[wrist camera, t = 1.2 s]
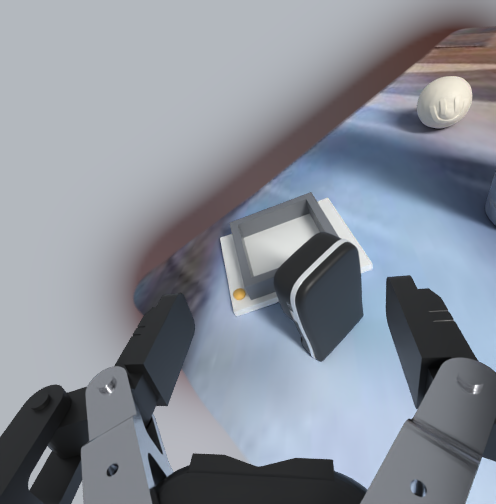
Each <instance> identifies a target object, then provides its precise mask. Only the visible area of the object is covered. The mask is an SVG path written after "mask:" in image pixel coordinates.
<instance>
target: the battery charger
mask: <svg viewBox="0 0 496 504" xmlns="http://www.w3.org/2000/svg"><path fill="white" fill-rule="evenodd" d="M273 284H274V289H275V292H276V295H277V297H278V300H279V303H280V305H281V307H282V309H283V311H284V313H285V314H286V315H287V316H288V317H289V318H290V319H292V320H293V321H294V322H295V324H296V326H297V329H298V331H299V332H300V334H301V342H302V344H303V346H304V348H305V349H306V350H307V352H309V353H310V354H311V356H312V357H313V358H314V359H317V360H318V361H320V362H321V361H323V360H324V359H325V358H326V357H327V356H328V355H329V354H330V353H331V352H332V351H333V350H334V348H335V347H336V346H337V345H338V344H339V343H340V342H341V341H342V340H343V339H344V338H345V336H346V335H347V334H348V333H349V332H350V331H351V330H352V329H353V327H354V326H355V325H356V324H357V323H358V322H359V321H360V319H361V318H362V317H363V307H362V287H361V268H360V259H359V252H358V249H357V247H356V246H355V245H353V244H352V243H351V242H350V241H348V240H346V239H341V238H339V237H337V236H335V235H333V234H330V233H327V232H320V233H317V234H315V235H314V236H313V237H311V238H310V239H309V240H308V241H307V242H306V243H304V244H303V245H302V246H301V247H300V248H299V249H298V250H297V251H295V252H294V253H293V254H292V255H291V256H290V257H289V258H288V259H287V260H286V261H285V262H284V263H283V264H282V265H281V266H280V267H279V268H278V269H277V271H276V272H275V275H274V282H273Z"/></svg>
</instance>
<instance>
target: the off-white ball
mask: <svg viewBox="0 0 496 504" xmlns="http://www.w3.org/2000/svg"><path fill="white" fill-rule="evenodd" d="M471 102H472V90H471V87H470V85H469V84H468V83H467V82H466V81H465V80H464V79H462V78H460V77H456V76H447V77H442V78H439V79H437V80H435V81H433V82H431V83H430V84H429V85H428V86H426V87H425V88H424V90H423V91H422V92H421V94H420V96H419V98H418V103H417V113H418V116H419V118H420V120H421V122H422V123H423V124H424V125H426V126H428V127H432V128H445V127H448V126H451V125H453V124H455V123H457V122H458V121H460V120H461V119H462V118H463V117H464V116H465V115H466V113H467V112H468V110H469V108H470V106H471Z"/></svg>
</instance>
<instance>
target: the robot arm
mask: <svg viewBox="0 0 496 504" xmlns="http://www.w3.org/2000/svg"><path fill="white" fill-rule="evenodd" d="M485 210H486V214H487V216H488V217H489V219H490V220H491V221H492V222H493V223H494V224H495V225H496V171H495V174H494V177H493V180H492V184H491V187H490V191H489V194H488V197H487V201H486V205H485ZM386 317H387V322H388V326H389V329H390V332H391V335H392V338H393V341H394V344H395V347H396V350H397V353H398V356H399V359H400V362H401V365H402V368H403V371H404V374H405V377H406V380H407V383H408V386H409V389H410V392H411V395H412V398H413V401H414V404H415V407H416V409H418V410H417V412H416V414H415V415H414V417H413V418H412V419H408V420H407V421H406V422H405V423H404V425H403V427H402V428H401V430H400V432H399V434H398V436H397V437H396V439H395V441H394V443H393V445H392V447H391V448H390V450H389V452H388V454H387V456H386V458H385V459H384V461H383V463H382V465H381V467H380V468H379V470H378V472H377V474H376V476H375V478H374V479H373V481H372V483H371V485H370V487H369V489H368V490H367V489H366V488H365V487H363V486H362V485H361V484H359V483H358V482H356V481H355V480H353V479H352V478H349V477H347V476H345V475H343V474H341V473H338V472H335V471H334V465H333V460H330V459H307V458H294V459H290V460H286V461H281V462H277V463H273V464H269V465H265V466H261V467H257V466H253V465H251V464H248V463H245V462H242V461H240V460H237V459H234V458H232V457H229V456H226V455H215V454H193V455H192V459H191V463H190V465H189V466H186V467H184V468H181V469H179V470H177V471H175V472H173V470H172V468H171V466H170V464H169V461H168V459H167V455H166V452H165V449H164V446H163V442H162V439H161V436H160V432H159V429H158V426H157V422H156V419H155V417H154V415H153V412H154V409H155V407H156V406H168V403H169V400H170V398H171V395H172V392H173V390H174V387H175V384H176V381H177V379H178V376H179V373H180V371H181V368H182V365H183V362H184V360H185V357H186V354H187V352H188V349H189V346H190V344H191V341H192V338H193V335H194V331H195V323H194V319H193V317H192V314H191V312H190V309H189V307H188V304H187V302H186V299H185V297H184V295H183V294H182V293H178V294H166V295H163V296H162V297H161V299H160V301H159V303H158V305H157V306H156V307H153V308H152V309H151V310H150V311H149V312H148V313H147V314H145V315H144V316H143V318H142V320H141V321H140V323H139V325H138V328H137V329H136V330H135V332H134V333H133V337H131V338H130V340H129V342H128V344H127V345H126V347H125V349H124V350H123V352H122V354H121V355H120V357H119V359H118V361H117V363H116V364H115V366H114V367H110V368H107V369H105V370H103V371H102V372H100V373H99V374H97V375H96V376H95V377H94V378H93V379H92V380H91V382H90V383H89V385H88V387H84V388H81V389H78V390H75V391H72V392H69V393H66V392H65V391H64V389H63V388H62V387H61V386H60V385H50V386H47V387H45V388H43V389H41V390H39V391H38V392H36V393H35V394H34V395H33V396H31V397H30V398H29V399H28V400H27V401H26V403H25V404H24V405H23V407H22V408H21V410H20V411H19V412H18V413H17V415H16V416H15V418H14V419H13V420H12V422H11V423H10V425H9V426H8V427H7V429H6V430H5V431H4V433H3V434H2V435H1V437H0V504H71V503H72V500H73V499H74V496H75V494H76V492H77V490H78V488H79V485H80V483H81V481H83V499H84V504H466V501H467V498H468V495H469V493H470V490H471V487H472V484H473V481H474V478H475V475H476V473H477V470H478V467H479V464H480V461H481V458H482V457H484V458H487V459H490V460H493V461H496V372H495V371H493V370H492V369H491V368H490V367H488V366H486V365H485V364H483V363H481V362H479V361H478V360H477V358H476V357H475V355H474V353H473V352H472V350H471V348H470V347H469V345H468V343H467V341H466V340H465V338H464V336H463V335H462V333H461V331H460V329H459V328H458V326H457V324H456V323H455V322H454V320H453V317H452V316H451V314H450V312H448V309H447V307H446V305H445V304H444V302H443V300H442V299H441V297H439V296H438V295H437V294H435V293H434V292H433V291H431V290H430V289H429V288H428V289H417V287H416V285H415V283H414V281H413V279H412V277H411V276H410V275H408V276H395V277H387V281H386ZM47 446H48V447H49V448H50V449H51V450H52V452H51V454H50V455H49V457H48V459H47V461H46V463H45V464H44V466H43V468H42V470H41V471H40V473H39V475H38V476H37V478H36V480H35V482H34V484H33V485H32V487H31V489H30V491H29V489H28V481H29V477H30V474H31V473H32V471H33V469H34V468H35V466H36V464H37V462H38V461H39V459H40V457H41V456H42V454H43V452H44V450H45V449H46V447H47Z"/></svg>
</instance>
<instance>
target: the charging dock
mask: <svg viewBox="0 0 496 504" xmlns="http://www.w3.org/2000/svg"><path fill="white" fill-rule="evenodd" d="M230 227H231V232H232V234H229V235H227V236H224V237H221V238H220V241H221V246H222V251H223V257H224V262H225V268H226V273H227V279H228V284H229V289H230V295H231V300H232V306H233V311H234V313H235V315H236V317H238V316H240V315H243V314H246V313H249V312H252V311H255V310H258V309H260V308H263V307H266V306H269V305H272V304H275V303H278V302H279V300H278V297H277V295H276V292H275V289H274V284H273V282H274V275H275V272H276V271H277V269H278V268H279V267H280V266H281V265H282V264H283V263H284V262H285V261H286V260H287V259H288V258H289V257H290V256H291V255H292V254H293V253H294V252H295V251H297V250H298V249H299V248H300V247H301V246H302V245H303V244H304V243H306V242H307V241H308V240H309V239H310V238H311V237H313V236H314V235H315V234H317V233H320V232H327V233H330V234H333V235H335V236H337V237H339V238H341V239H346V240H348V241H350V242H351V243H352V244H353V245H355V246H356V247H357V249H358V252H359V259H360V268H361V273H363V272H366V271H369V270H372V269H373V266H372V262H371V261H370V259H369V258H368V256H367V255H366V253H365V252H364V250H363V249H362V247H361V246H360V244H359V243H358V241H357V240H356V238H355V237H354V236H353V234H352V233H351V231H350V230H349V228H348V227H347V225H346V224H345V222H344V221H343V219H342V218H341V216H340V215H339V213H338V212H337V210H336V209H335V207H334V206H333V204H332V203H331V201H330V200H329V199H328V198H326V199H323V200H320V201H318V202H317V201H316V199H315V197H314V196H313V194H312V193H311V192H310V193H307V194H305V195H302V196H299V197H297V198H294V199H291V200H289V201H286V202H284V203H281V204H278V205H276V206H273V207H270V208H268V209H265V210H262V211H260V212H257V213H254V214H252V215H249V216H246V217H244V218H241V219H238V220H236V221H233V222H231V223H230Z"/></svg>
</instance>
